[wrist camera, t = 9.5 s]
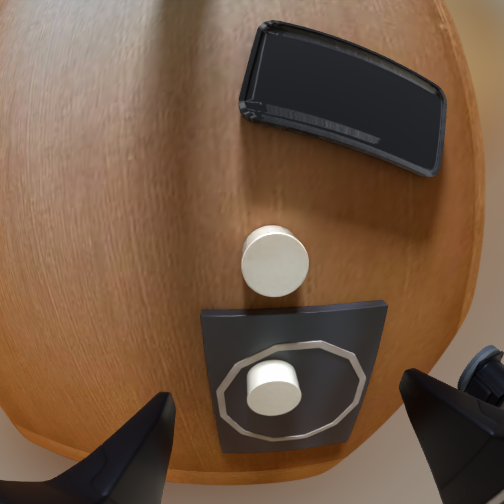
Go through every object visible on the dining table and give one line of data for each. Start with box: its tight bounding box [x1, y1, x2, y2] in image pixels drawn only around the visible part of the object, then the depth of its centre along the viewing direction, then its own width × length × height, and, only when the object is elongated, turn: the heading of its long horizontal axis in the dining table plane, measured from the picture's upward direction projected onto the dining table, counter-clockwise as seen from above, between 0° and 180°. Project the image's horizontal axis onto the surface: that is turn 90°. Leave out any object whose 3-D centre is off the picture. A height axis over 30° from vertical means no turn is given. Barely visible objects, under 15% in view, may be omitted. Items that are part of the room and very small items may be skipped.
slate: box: [200, 300, 388, 453], centre depth 21 cm, size 14×18×1 cm
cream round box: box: [241, 225, 309, 297], centre depth 17 cm, size 4×4×2 cm
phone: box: [239, 20, 447, 177], centre depth 15 cm, size 8×1×15 cm
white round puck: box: [246, 360, 301, 416], centre depth 19 cm, size 4×4×2 cm
